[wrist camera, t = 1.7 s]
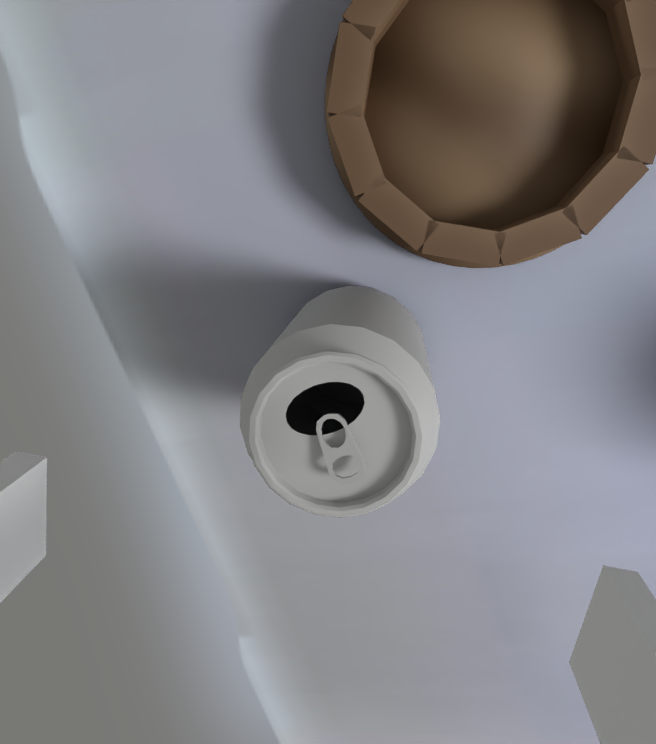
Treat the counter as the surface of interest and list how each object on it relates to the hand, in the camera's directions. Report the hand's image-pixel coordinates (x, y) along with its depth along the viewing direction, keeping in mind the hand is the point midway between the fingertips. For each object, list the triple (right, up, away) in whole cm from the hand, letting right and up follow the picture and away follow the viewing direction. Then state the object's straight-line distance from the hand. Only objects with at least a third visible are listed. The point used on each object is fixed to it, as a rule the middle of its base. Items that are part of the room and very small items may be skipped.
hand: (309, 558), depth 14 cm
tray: (+8, +17, +14) cm, 23 cm away
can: (+2, +5, +18) cm, 19 cm away
